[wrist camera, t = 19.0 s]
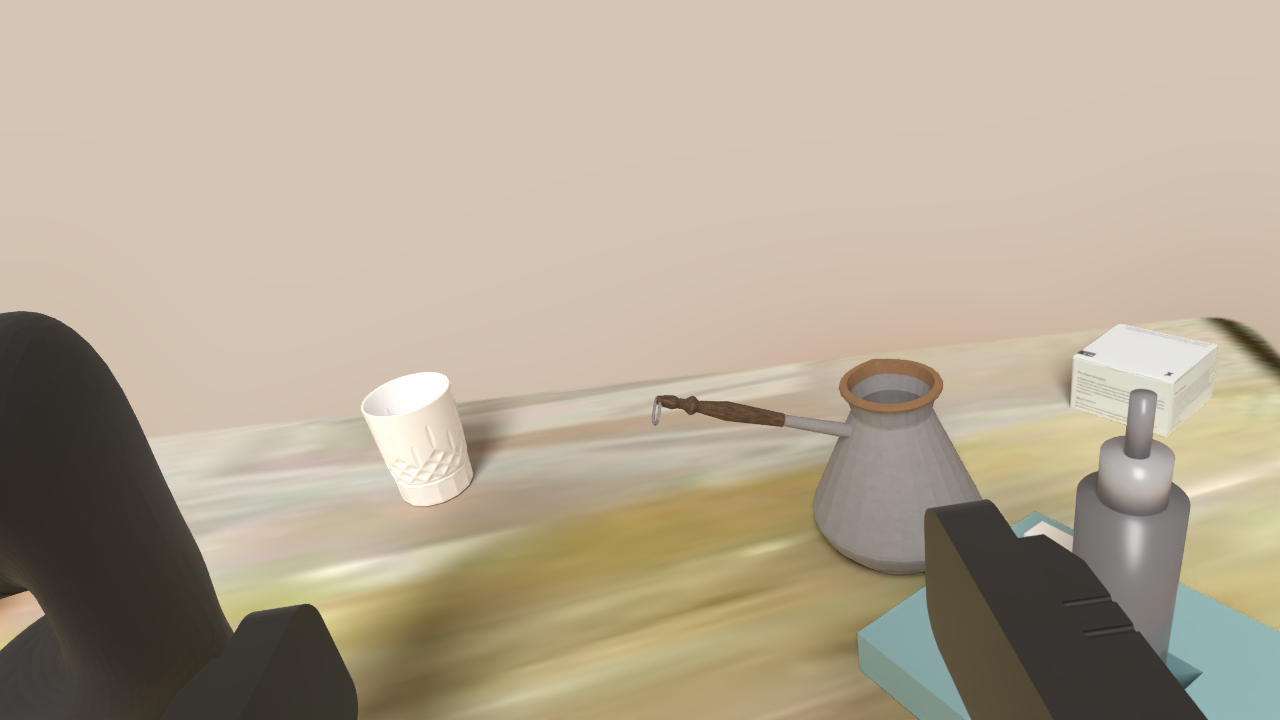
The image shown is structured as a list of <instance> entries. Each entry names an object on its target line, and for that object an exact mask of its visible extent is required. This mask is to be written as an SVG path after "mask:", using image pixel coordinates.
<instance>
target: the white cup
mask: <svg viewBox="0 0 1280 720" xmlns="http://www.w3.org/2000/svg"><path fill="white" fill-rule="evenodd" d="M361 410H362V413H363V415H364V417H365V420H366V422H367V424H368V426H369V428H370V431H371V433H372V435H373V437H374V440H375V442H376V444H377V446H378V448H379V451H380V453H381V455H382V457H383V459H384V461H385V463H386V465H387V467H388V469H389V471H390V473H391V474H392V476H393V477H394V479H395V481H396V484H397V486H398V488H399V490H400V493H401V495H402V497H403V499H404V501H406V502H408V503H409V504H411V505H413V506H431V505H436V504H440V503H443V502H446V501H448V500H450V499H452V498H454V497H455V496H457V495H459V494H460V493H461V492H462V491H464V490H465V489H466V488H467V487H468V486H469V485H470V482H471V480H472V478H473V471H472V467H471V464H470V460H469V457H468V452H467V445H466V440H465V436H464V431H463V428H462V424H461V420H460V417H459V413H458V410H457V406H456V402H455V399H454V395H453V392H452V388H451V384H450V381H449V378H448V377H447V376H445V375H444V374H441V373H436V372H422V373H415V374H411V375H406V376H403V377H400V378H397V379H394V380H392V381H390V382H387V383H385V384H383V385H382V386H380V387H378V388H377V389H375V390H374V391H372V392H371V393H370V394H369V395H368V396H367V397H366V398H365V399H364V400H363V402H362V404H361Z"/></svg>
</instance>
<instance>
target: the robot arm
mask: <svg viewBox="0 0 1280 720" xmlns="http://www.w3.org/2000/svg"><path fill="white" fill-rule="evenodd" d="M924 539H925V574H926V602H927V609H928V615H929V620H930V624H931V628H932V632H933V635H934V638H935V641H936V644H937V646H938V649H939V651H940V654H941V656H942V658H943V660H944V662H945V664H946V667H947V669H948V671H949V673H950V675H951V677H952V680H953V682H954V684H955V686H956V688H957V690H958V693H959V695H960V697H961V699H962V701H963V703H964V706H965V708H966V710H967V712H968V714H969V716H970V718H971V720H1208V719H1207V718H1206V716H1205V715H1204V714H1203V712H1202V711H1201V710H1200V709H1199V707H1198V706H1197V705H1196V703H1195V702H1194V701H1193V700H1192V698H1191V697H1190V696H1189V694H1188V693H1187V692H1186V691H1185V689H1184V688H1183V687H1182V685H1181V684H1180V683H1179V682H1178V680H1177V679H1176V678H1175V676H1174V675H1173V674H1172V673H1171V671H1170V670H1169V669H1168V667H1167V666H1166V665H1165V664H1164V662H1163V661H1162V660H1161V658H1160V657H1159V656H1158V655H1157V653H1156V652H1155V651H1154V649H1153V648H1152V647H1151V646H1150V644H1149V643H1148V642H1147V640H1146V639H1145V638H1144V637H1143V635H1142V634H1141V633H1140V631H1137V632H1136V631H1135V629H1134V626H1133V623H1132V621H1131V620H1130V619H1129V617H1128V616H1127V615H1126V614H1125V612H1124V611H1123V610H1122V608H1121V607H1120V606H1119V605H1118V603H1117V602H1113V601H1112V599H1111V594H1110V593H1109V592H1108V590H1107V589H1106V588H1105V587H1104V585H1103V584H1102V583H1101V581H1100V580H1099V579H1098V578H1097V576H1096V575H1095V574H1094V572H1093V571H1092V570H1091V569H1090V567H1089V566H1088V565H1087V563H1086V562H1085V561H1084V560H1083V559H1081V558H1080V557H1078V556H1077V555H1075V554H1074V553H1072V552H1071V551H1069V550H1068V549H1066V548H1065V547H1063V546H1061V545H1060V544H1058V543H1057V542H1055V541H1054V540H1052V539H1051V538H1049V537H1048V536H1046V535H1045V534H1040V535H1034V536H1027V537H1021V538H1018V537H1017V536H1016V534H1015V533H1014V532H1013V530H1012V529H1011V527H1010V526H1009V524H1008V523H1007V521H1006V520H1005V519H1004V517H1003V516H1002V514H1001V513H1000V511H999V510H998V508H997V507H996V506H995V505H994V503H992V502H991V501H990V500H987V499H985V500H978V501H972V502H966V503H959V504H953V505H946V506H940V507H934V508H928V509H927V510H926V511H925V515H924ZM28 590H29V591H30V592H31V593H32V594H33V595H34V596H35V598H36V599H37V601H38V603H39V604H40V606H41V608H42V609H43V611H44V613H45V615H44V616H43V617H41V618H40V619H38V620H37V621H36V622H34V623H33V624H31V625H30V626H29V627H27V628H26V629H25V630H24V631H22V632H21V633H20V634H19V635H18V636H16V637H15V638H14V639H13V640H12V641H11V642H9V643H8V644H7V645H6V646H5V647H4V648H3V649H2V650H1V651H0V720H357V716H358V702H357V694H356V689H355V685H354V683H353V680H352V678H351V676H350V674H349V672H348V670H347V668H346V666H345V664H344V662H343V660H342V658H341V656H340V654H339V652H338V649H337V647H336V645H335V643H334V641H333V639H332V637H331V635H330V633H329V631H328V629H327V627H326V625H325V623H324V621H323V619H322V617H321V615H320V613H319V611H318V610H317V609H316V608H315V607H314V606H313V605H310V604H302V605H295V606H289V607H282V608H276V609H270V610H263V611H257V612H252V613H250V614H248V615H247V616H246V617H245V618H244V619H243V620H242V621H241V623H240V624H239V626H238V628H237V629H236V631H235V633H234V632H233V630H232V628H231V627H230V625H229V623H228V621H227V620H226V618H225V616H224V614H223V612H222V609H221V607H220V604H219V602H218V599H217V596H216V593H215V590H214V587H213V584H212V581H211V578H210V576H209V573H208V570H207V567H206V564H205V562H204V559H203V557H202V555H201V552H200V550H199V548H198V546H197V544H196V542H195V540H194V538H193V536H192V534H191V532H190V530H189V528H188V526H187V524H186V522H185V520H184V518H183V517H182V515H181V513H180V511H179V509H178V506H177V504H176V502H175V500H174V498H173V496H172V494H171V492H170V490H169V488H168V485H167V483H166V481H165V479H164V477H163V475H162V472H161V470H160V468H159V466H158V464H157V461H156V459H155V457H154V455H153V452H152V450H151V448H150V446H149V444H148V441H147V439H146V437H145V435H144V433H143V430H142V428H141V426H140V424H139V421H138V420H137V417H136V415H135V414H134V411H133V409H132V408H131V405H130V404H129V401H128V399H127V398H126V396H125V394H124V392H123V390H122V388H121V387H120V385H119V383H118V382H117V380H116V379H115V377H114V375H113V374H112V372H111V371H110V369H109V367H108V366H107V364H106V363H105V362H104V361H103V359H102V358H101V357H100V356H99V355H98V353H97V352H96V351H95V350H94V348H93V347H92V346H91V345H90V344H89V343H88V342H87V341H86V340H84V338H82V337H81V336H80V335H79V334H78V333H77V332H76V331H74V330H73V329H72V328H70V327H68V326H67V325H65V324H64V323H62V322H61V321H59V320H57V319H55V318H52V317H49V316H47V315H44V314H41V313H35V312H25V311H18V312H8V313H1V314H0V599H2V598H5V597H8V596H12V595H15V594H18V593H21V592H24V591H28Z"/></svg>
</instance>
